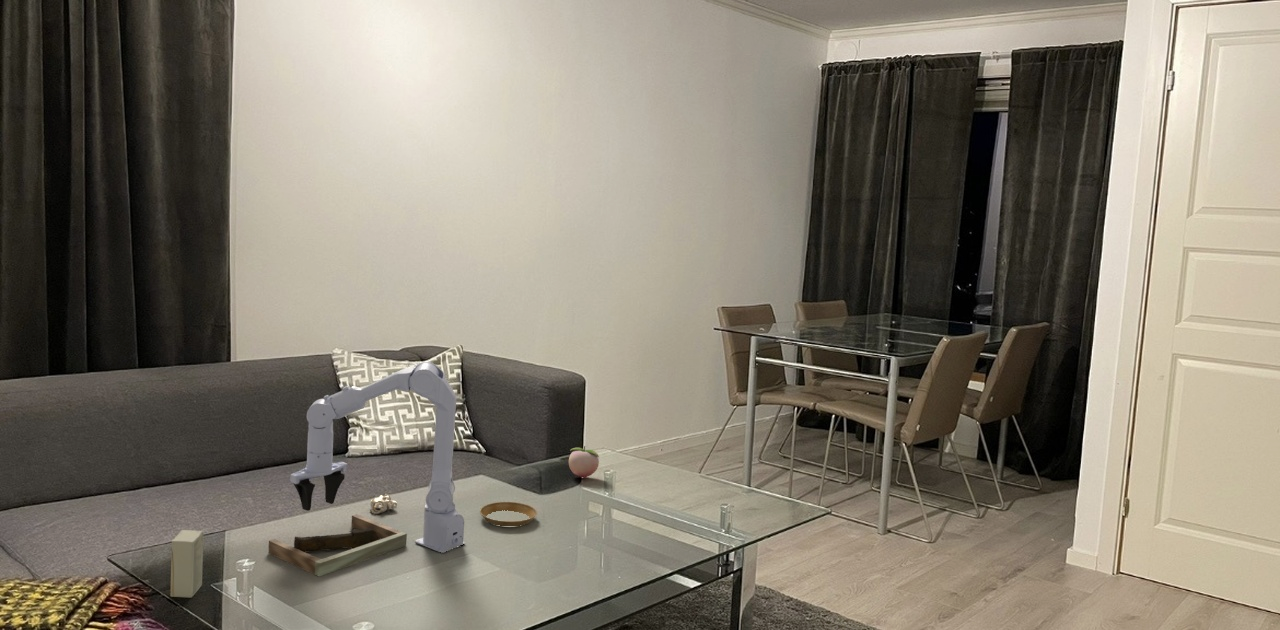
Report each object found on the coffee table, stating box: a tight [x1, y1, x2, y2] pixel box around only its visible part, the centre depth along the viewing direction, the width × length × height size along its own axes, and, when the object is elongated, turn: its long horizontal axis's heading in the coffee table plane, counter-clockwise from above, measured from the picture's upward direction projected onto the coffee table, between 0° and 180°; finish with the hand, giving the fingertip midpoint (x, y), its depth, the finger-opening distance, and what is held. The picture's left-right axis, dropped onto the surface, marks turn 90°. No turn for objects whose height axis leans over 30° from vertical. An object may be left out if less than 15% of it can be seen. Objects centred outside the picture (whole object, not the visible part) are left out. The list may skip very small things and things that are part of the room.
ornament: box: [370, 493, 398, 515], centre depth 258 cm, size 8×7×4 cm
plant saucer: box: [479, 501, 538, 527], centre depth 258 cm, size 15×15×3 cm
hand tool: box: [293, 528, 380, 553], centre depth 230 cm, size 19×4×5 cm, turn 112°
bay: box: [268, 513, 408, 577], centre depth 230 cm, size 18×25×3 cm
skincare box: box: [170, 529, 204, 599], centre depth 202 cm, size 6×4×12 cm
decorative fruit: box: [568, 445, 600, 478], centre depth 296 cm, size 9×8×10 cm
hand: (318, 506), depth 234 cm, fingers open, 6 cm apart
